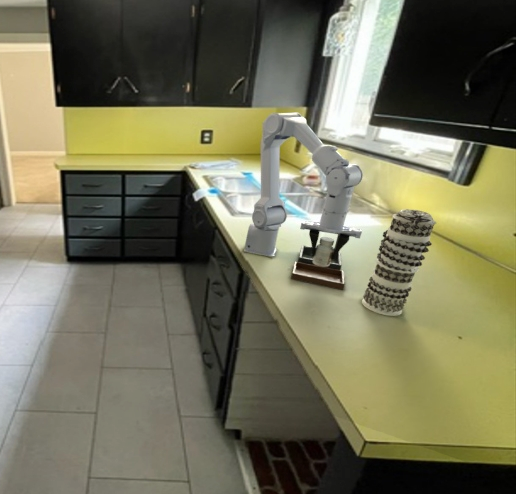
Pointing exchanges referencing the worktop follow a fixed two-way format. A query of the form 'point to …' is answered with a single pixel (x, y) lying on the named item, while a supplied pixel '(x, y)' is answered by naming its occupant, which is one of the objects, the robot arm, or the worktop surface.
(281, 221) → the robot arm
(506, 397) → the worktop surface
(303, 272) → the tray
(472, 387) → the worktop surface
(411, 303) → the worktop surface
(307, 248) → the dark grey square frame
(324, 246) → the pill bottle
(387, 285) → the decorative candle
